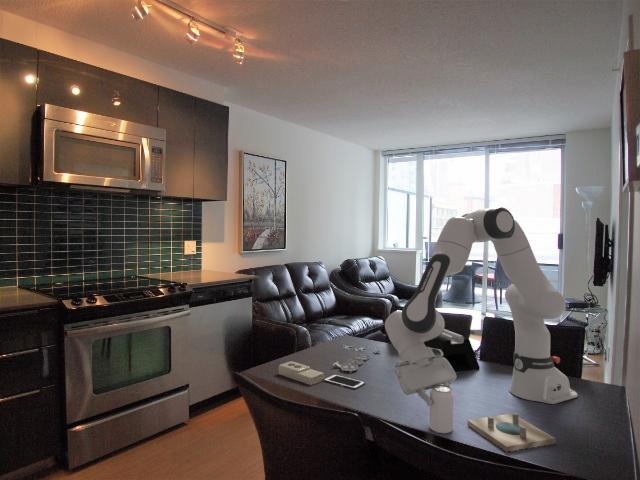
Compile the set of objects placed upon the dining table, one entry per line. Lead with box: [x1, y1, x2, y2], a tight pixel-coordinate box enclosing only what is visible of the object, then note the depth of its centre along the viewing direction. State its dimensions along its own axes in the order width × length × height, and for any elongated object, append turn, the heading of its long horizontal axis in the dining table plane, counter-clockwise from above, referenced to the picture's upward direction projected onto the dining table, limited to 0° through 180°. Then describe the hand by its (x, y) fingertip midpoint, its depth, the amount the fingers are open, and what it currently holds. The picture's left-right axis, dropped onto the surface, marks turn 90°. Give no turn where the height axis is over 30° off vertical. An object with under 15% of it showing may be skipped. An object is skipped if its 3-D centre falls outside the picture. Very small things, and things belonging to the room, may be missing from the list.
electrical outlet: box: [278, 361, 325, 386], centre depth 164 cm, size 7×4×18 cm
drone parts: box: [332, 343, 382, 374], centre depth 189 cm, size 23×35×3 cm, turn 150°
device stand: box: [424, 328, 480, 373], centre depth 181 cm, size 22×22×15 cm
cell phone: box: [323, 373, 366, 391], centre depth 158 cm, size 8×15×1 cm, turn 53°
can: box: [429, 384, 454, 435], centre depth 121 cm, size 6×6×12 cm
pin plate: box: [467, 412, 556, 453], centre depth 119 cm, size 16×16×4 cm
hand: (440, 401), depth 121 cm, fingers closed on can, 6 cm apart
